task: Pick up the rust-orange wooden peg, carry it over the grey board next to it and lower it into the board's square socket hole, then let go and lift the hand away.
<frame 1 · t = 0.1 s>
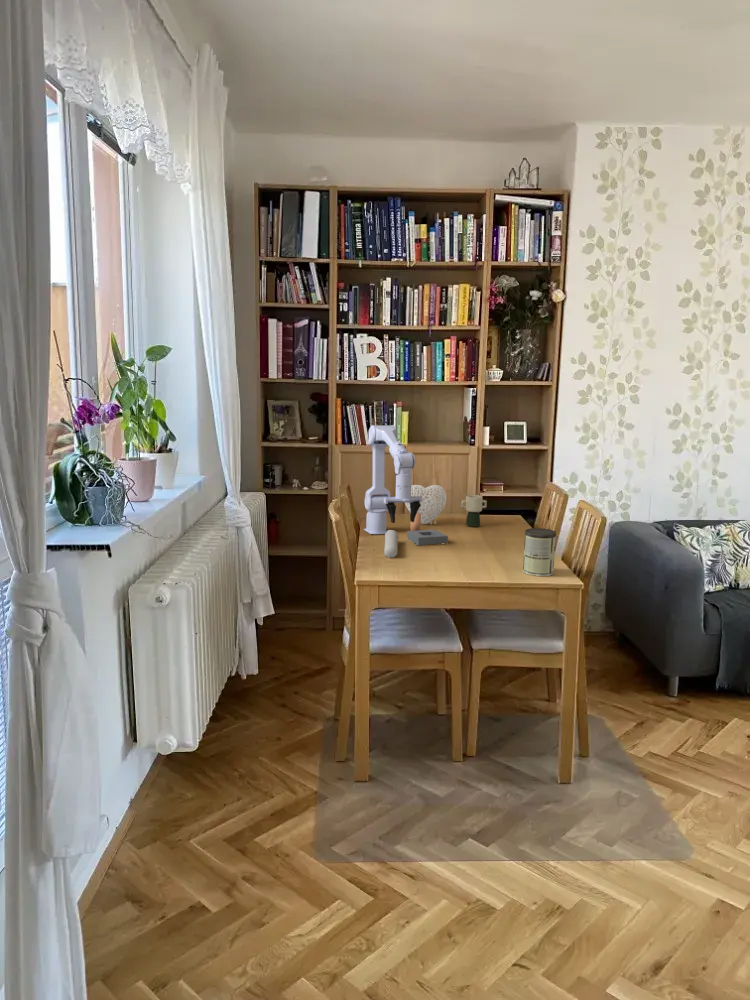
hand: (402, 522, 285), 10 cm above the table, tool pointing down, fingers open, 7 cm apart
tube: (391, 551, 284), on the table
peg: (415, 535, 308), on the table
coffee can: (538, 572, 258), on the table
socket board: (427, 541, 299), on the table
decorative heart: (424, 524, 330), on the table
beige and green trophy: (472, 526, 328), on the table
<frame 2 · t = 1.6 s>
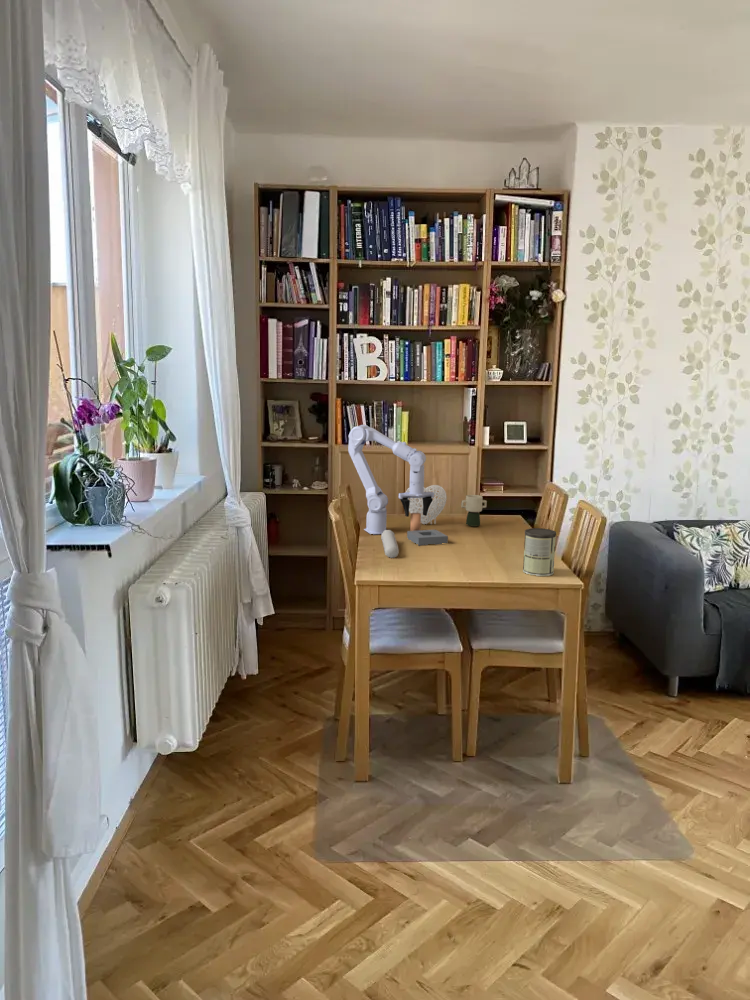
hand: (415, 515, 306), 8 cm above the table, tool pointing down, fingers open, 7 cm apart
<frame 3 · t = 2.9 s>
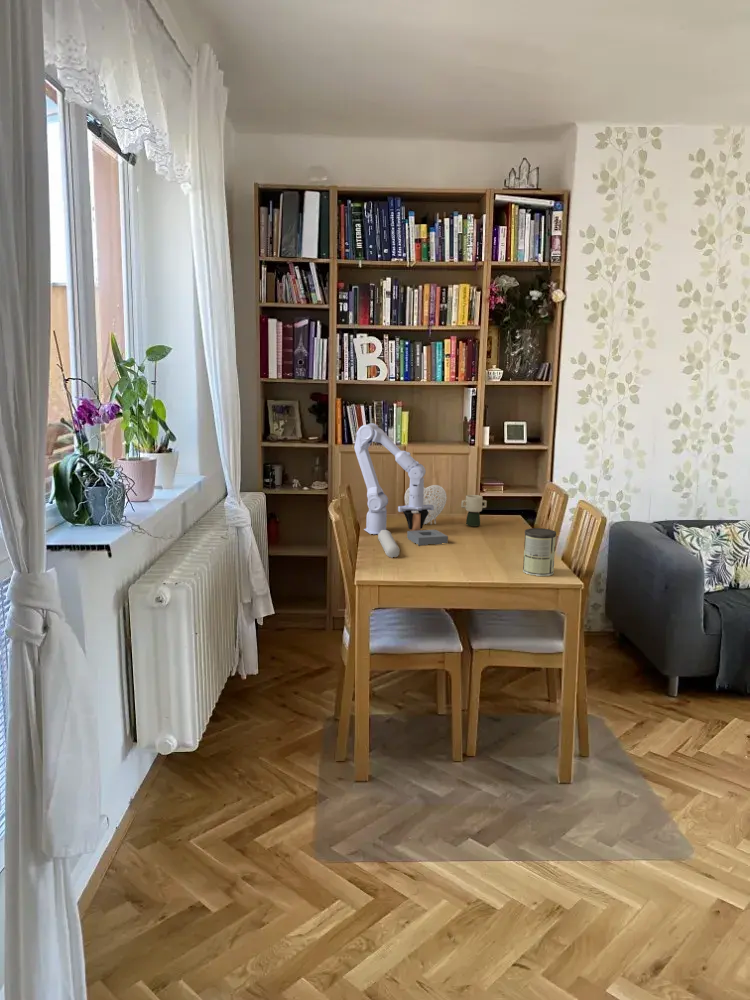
hand: (415, 528, 307), 3 cm above the table, tool pointing down, fingers closed on peg, 4 cm apart
peg: (415, 535, 308), on the table, touching gripper
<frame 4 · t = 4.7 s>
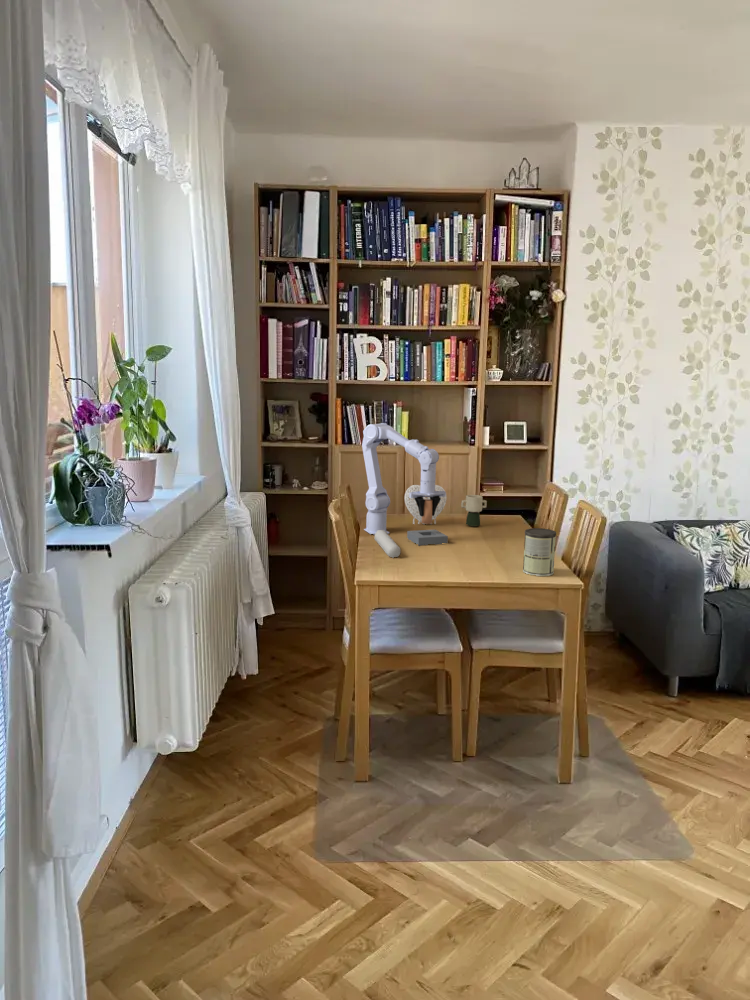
hand: (426, 515, 298), 10 cm above the table, tool pointing down, fingers closed on peg, 4 cm apart
peg: (426, 522, 299), point 7 cm above the table, touching gripper
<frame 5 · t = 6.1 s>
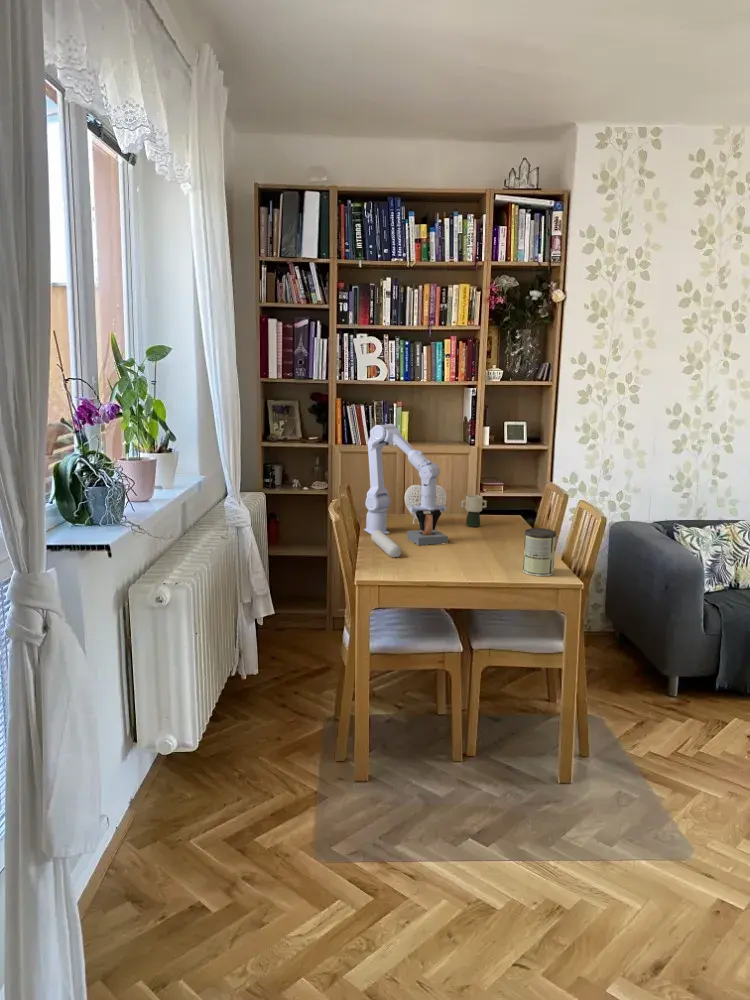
hand: (427, 529, 298), 5 cm above the table, tool pointing down, fingers closed on peg, 4 cm apart
peg: (427, 536, 299), point 2 cm above the table, touching gripper
when the fingers open (4 cm above the table, at t = 7.0 s): peg drops 2 cm, resting in socket board.
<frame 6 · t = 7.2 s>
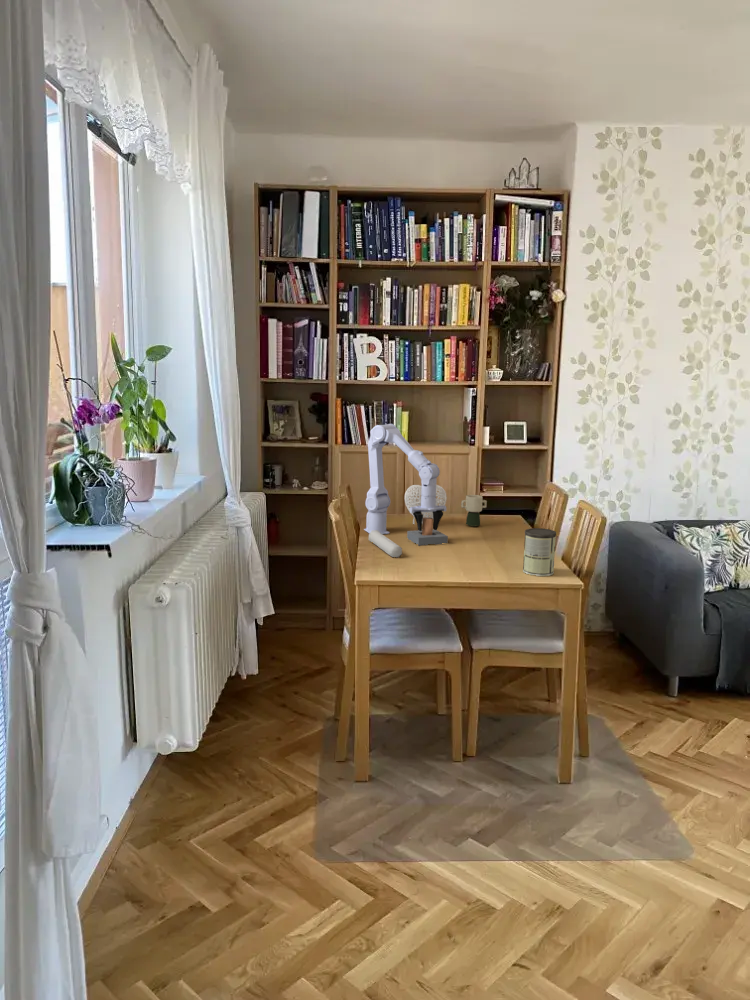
hand: (427, 530, 298), 4 cm above the table, tool pointing down, fingers open, 6 cm apart
peg: (427, 541, 299), resting in socket board
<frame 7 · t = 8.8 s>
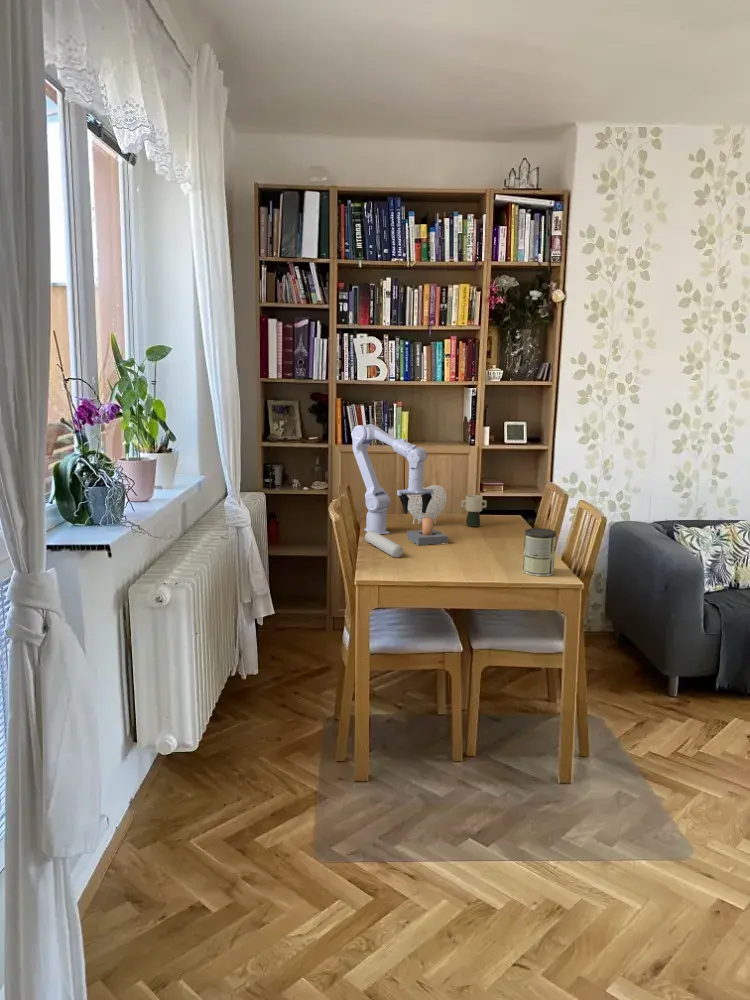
hand: (414, 513, 301), 10 cm above the table, tool pointing down, fingers open, 7 cm apart
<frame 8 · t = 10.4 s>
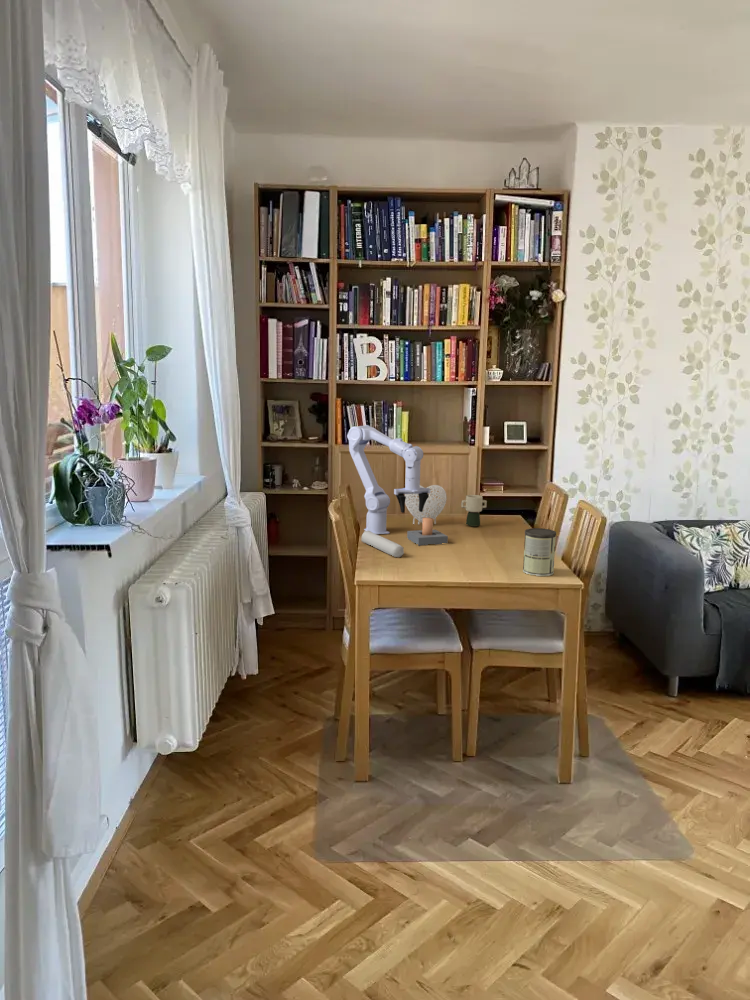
hand: (411, 511, 302), 10 cm above the table, tool pointing down, fingers open, 7 cm apart
at the end: peg 0.0 cm off-centre on the socket board, point 0.0 cm above the socket board's base; peg tilted 0°; the gripper is holding nothing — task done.
